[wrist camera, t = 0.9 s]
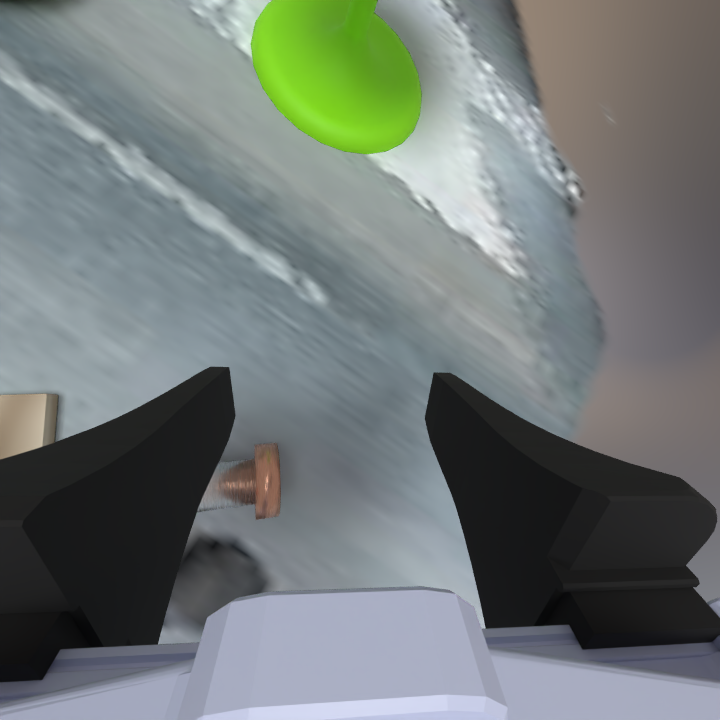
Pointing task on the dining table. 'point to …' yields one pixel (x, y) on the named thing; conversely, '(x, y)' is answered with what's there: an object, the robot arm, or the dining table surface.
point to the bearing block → (26, 422)
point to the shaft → (247, 483)
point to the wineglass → (337, 73)
